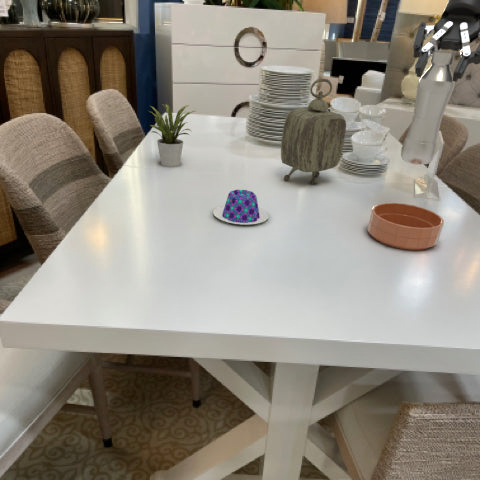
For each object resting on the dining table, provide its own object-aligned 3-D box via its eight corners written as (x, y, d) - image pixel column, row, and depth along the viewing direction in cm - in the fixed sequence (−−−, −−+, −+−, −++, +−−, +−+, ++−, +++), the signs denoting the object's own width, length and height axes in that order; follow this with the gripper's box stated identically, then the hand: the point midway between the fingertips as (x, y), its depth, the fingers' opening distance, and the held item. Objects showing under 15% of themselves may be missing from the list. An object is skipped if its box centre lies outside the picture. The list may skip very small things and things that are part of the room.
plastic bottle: (399, 157, 100) (424, 49, 89) (432, 162, 99) (462, 53, 88) (397, 165, 95) (424, 51, 84) (432, 169, 94) (464, 55, 83)
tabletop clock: (316, 174, 134) (332, 76, 120) (339, 183, 128) (358, 81, 114) (276, 180, 127) (288, 76, 113) (298, 190, 121) (314, 82, 107)
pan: (425, 227, 105) (431, 205, 102) (445, 255, 93) (453, 231, 90) (361, 222, 105) (366, 200, 102) (374, 249, 93) (379, 225, 90)
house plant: (202, 159, 138) (204, 99, 129) (198, 173, 127) (199, 107, 118) (154, 155, 138) (152, 94, 129) (145, 169, 126) (142, 102, 117)
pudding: (206, 208, 105) (207, 185, 102) (256, 205, 109) (258, 183, 106) (222, 229, 96) (224, 204, 93) (276, 225, 99) (279, 201, 97)
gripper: (507, 21, 89) (474, 96, 87) (430, 16, 95) (398, 85, 93) (515, -15, 82) (479, 64, 80) (431, -19, 88) (397, 55, 86)
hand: (436, 75), depth 87 cm, fingers closed on plastic bottle, 6 cm apart
